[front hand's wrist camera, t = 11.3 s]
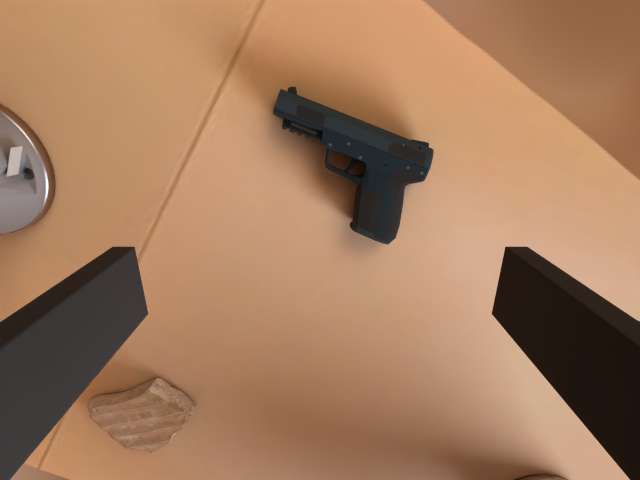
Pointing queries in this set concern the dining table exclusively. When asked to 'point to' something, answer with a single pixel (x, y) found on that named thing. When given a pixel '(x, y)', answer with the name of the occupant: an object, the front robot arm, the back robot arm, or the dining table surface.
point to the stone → (142, 414)
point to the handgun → (362, 160)
